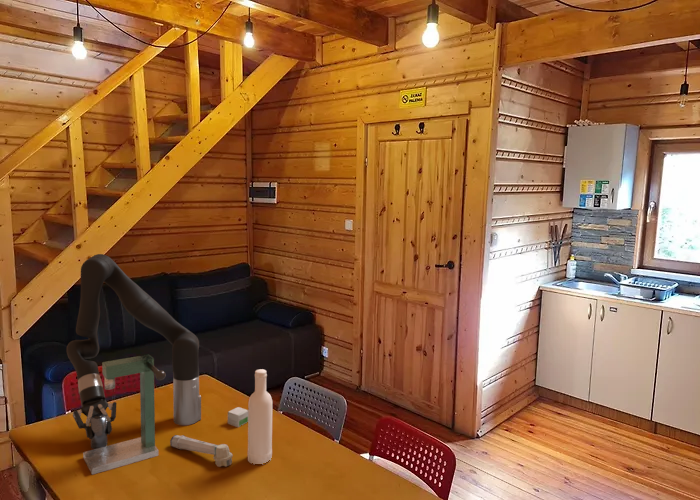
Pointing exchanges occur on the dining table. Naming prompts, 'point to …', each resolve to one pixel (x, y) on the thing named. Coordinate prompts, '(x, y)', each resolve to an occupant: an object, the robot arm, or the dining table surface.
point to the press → (145, 444)
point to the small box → (238, 417)
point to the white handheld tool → (204, 449)
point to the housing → (98, 431)
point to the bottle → (260, 421)
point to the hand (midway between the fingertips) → (100, 435)
